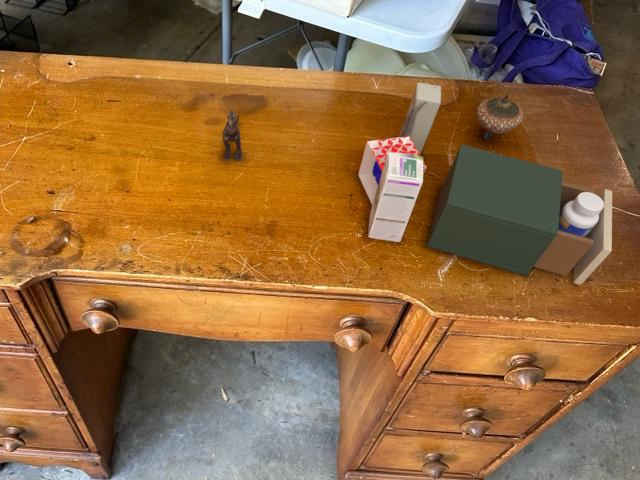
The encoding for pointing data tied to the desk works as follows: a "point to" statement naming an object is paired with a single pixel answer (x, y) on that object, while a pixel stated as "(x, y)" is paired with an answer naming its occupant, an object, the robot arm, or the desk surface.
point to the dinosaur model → (232, 136)
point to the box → (421, 114)
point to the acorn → (499, 115)
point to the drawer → (580, 241)
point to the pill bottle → (580, 214)
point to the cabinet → (497, 210)
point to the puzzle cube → (381, 160)
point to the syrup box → (395, 196)
